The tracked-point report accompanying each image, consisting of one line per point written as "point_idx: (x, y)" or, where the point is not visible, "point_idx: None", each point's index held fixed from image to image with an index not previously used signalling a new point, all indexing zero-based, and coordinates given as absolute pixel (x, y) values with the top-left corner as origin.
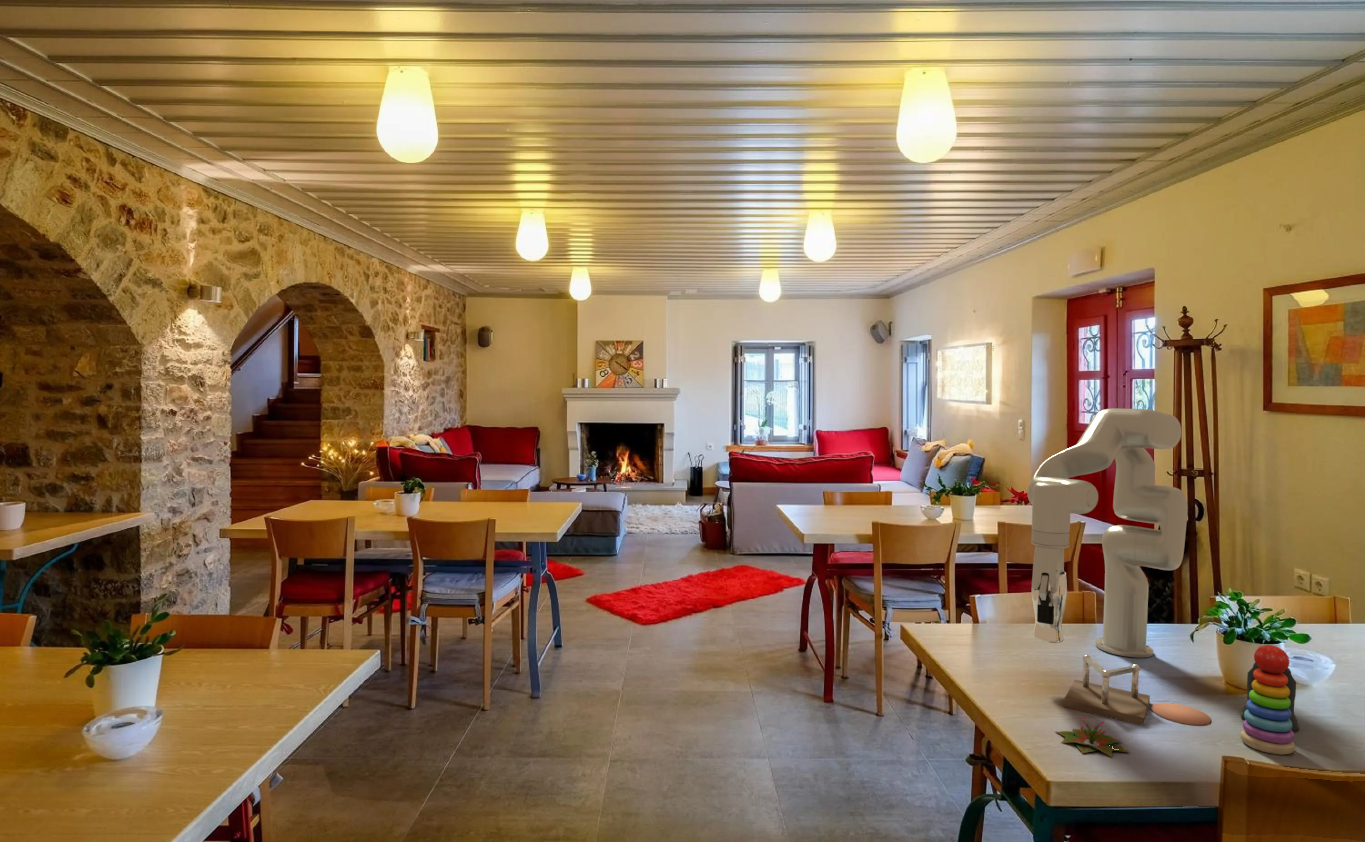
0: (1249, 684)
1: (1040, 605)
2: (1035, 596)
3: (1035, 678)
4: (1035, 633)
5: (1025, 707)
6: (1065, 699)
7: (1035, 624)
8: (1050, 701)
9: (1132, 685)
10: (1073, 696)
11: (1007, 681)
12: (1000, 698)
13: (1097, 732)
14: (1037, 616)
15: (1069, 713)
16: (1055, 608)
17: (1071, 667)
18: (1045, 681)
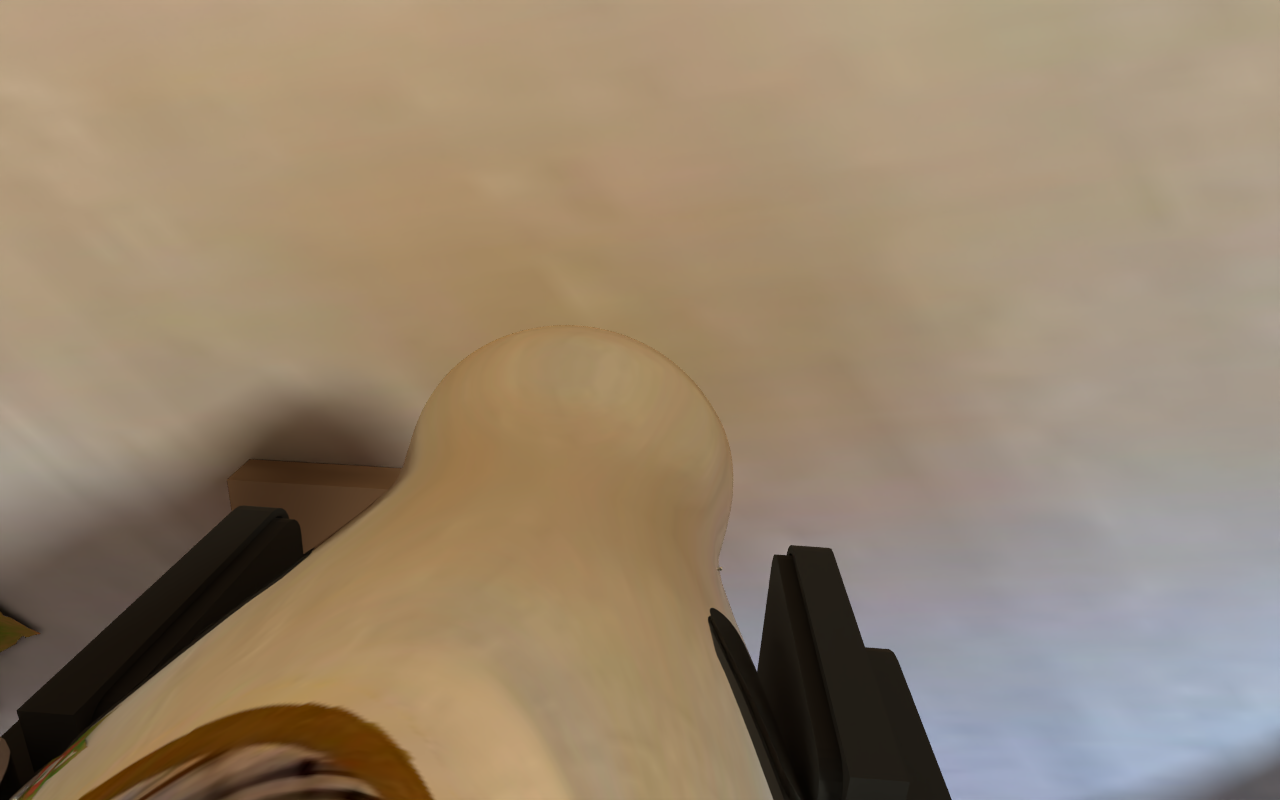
0: None
1: (46, 745)
2: (26, 781)
3: (677, 247)
4: (452, 381)
5: (52, 265)
6: (234, 487)
7: (476, 414)
8: (283, 385)
9: None
10: (327, 521)
11: (471, 68)
12: (72, 86)
13: (12, 623)
14: (201, 546)
15: (172, 493)
16: None
17: (1076, 437)
18: (654, 316)
